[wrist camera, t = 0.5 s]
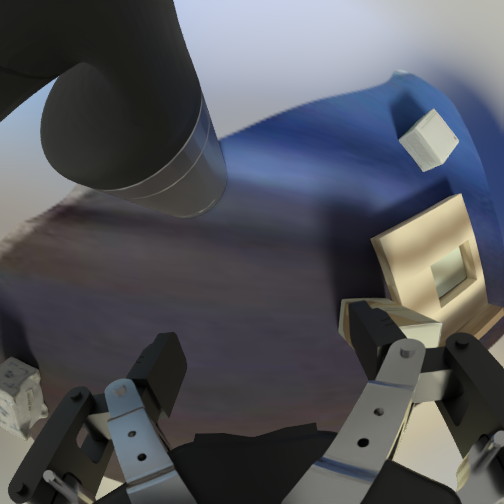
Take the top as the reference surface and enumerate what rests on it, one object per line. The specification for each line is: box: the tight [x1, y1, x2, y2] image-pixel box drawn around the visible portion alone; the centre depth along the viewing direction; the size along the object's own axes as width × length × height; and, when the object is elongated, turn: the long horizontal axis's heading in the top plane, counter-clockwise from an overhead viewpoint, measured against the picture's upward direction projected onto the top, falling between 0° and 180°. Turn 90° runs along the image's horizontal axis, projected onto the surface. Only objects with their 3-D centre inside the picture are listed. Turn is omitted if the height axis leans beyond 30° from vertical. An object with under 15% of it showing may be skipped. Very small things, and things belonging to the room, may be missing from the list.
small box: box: [399, 109, 459, 172], centre depth 28 cm, size 6×6×5 cm
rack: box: [371, 194, 504, 347], centre depth 28 cm, size 18×15×6 cm
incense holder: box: [0, 357, 48, 441], centre depth 26 cm, size 10×8×10 cm
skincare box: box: [338, 298, 442, 349], centre depth 25 cm, size 6×4×12 cm
